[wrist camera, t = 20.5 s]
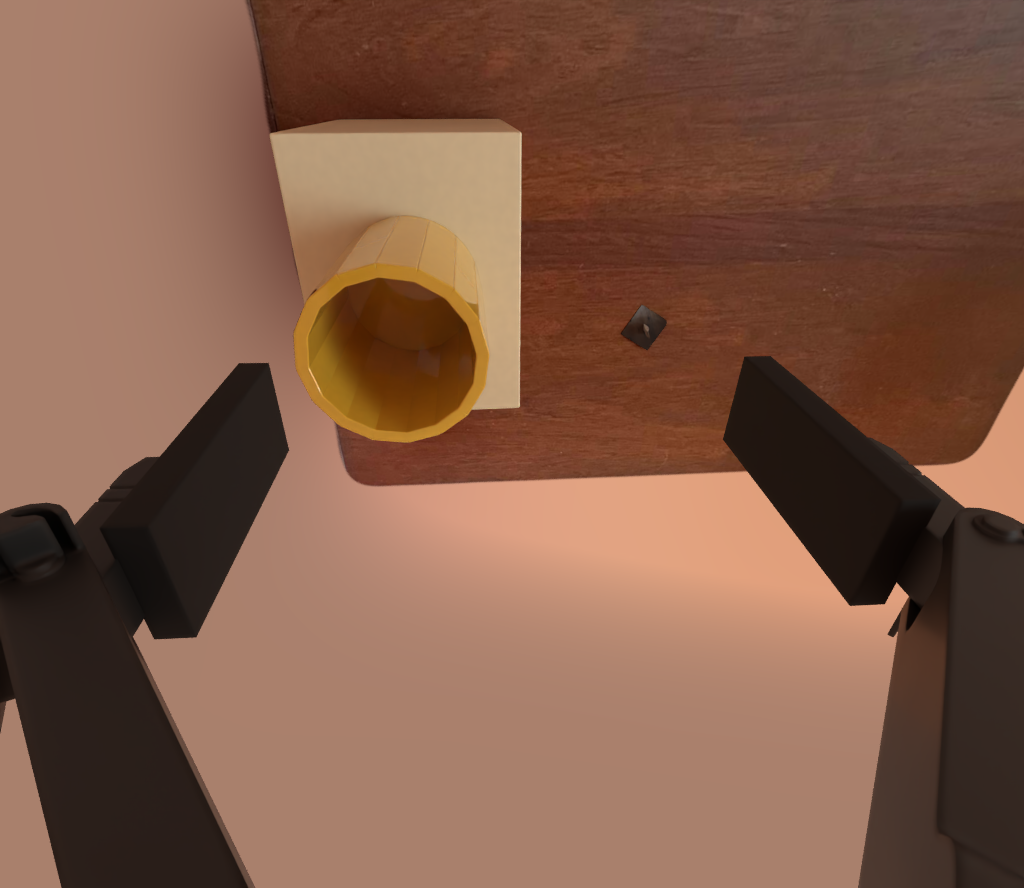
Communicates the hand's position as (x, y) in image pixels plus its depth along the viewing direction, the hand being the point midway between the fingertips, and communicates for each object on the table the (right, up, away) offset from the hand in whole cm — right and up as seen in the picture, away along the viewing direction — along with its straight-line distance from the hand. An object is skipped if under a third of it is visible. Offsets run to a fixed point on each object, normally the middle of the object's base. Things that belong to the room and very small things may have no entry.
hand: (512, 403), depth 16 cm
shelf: (-6, +15, +26) cm, 31 cm away
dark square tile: (+11, +9, +32) cm, 35 cm away
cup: (-5, +7, +12) cm, 15 cm away
